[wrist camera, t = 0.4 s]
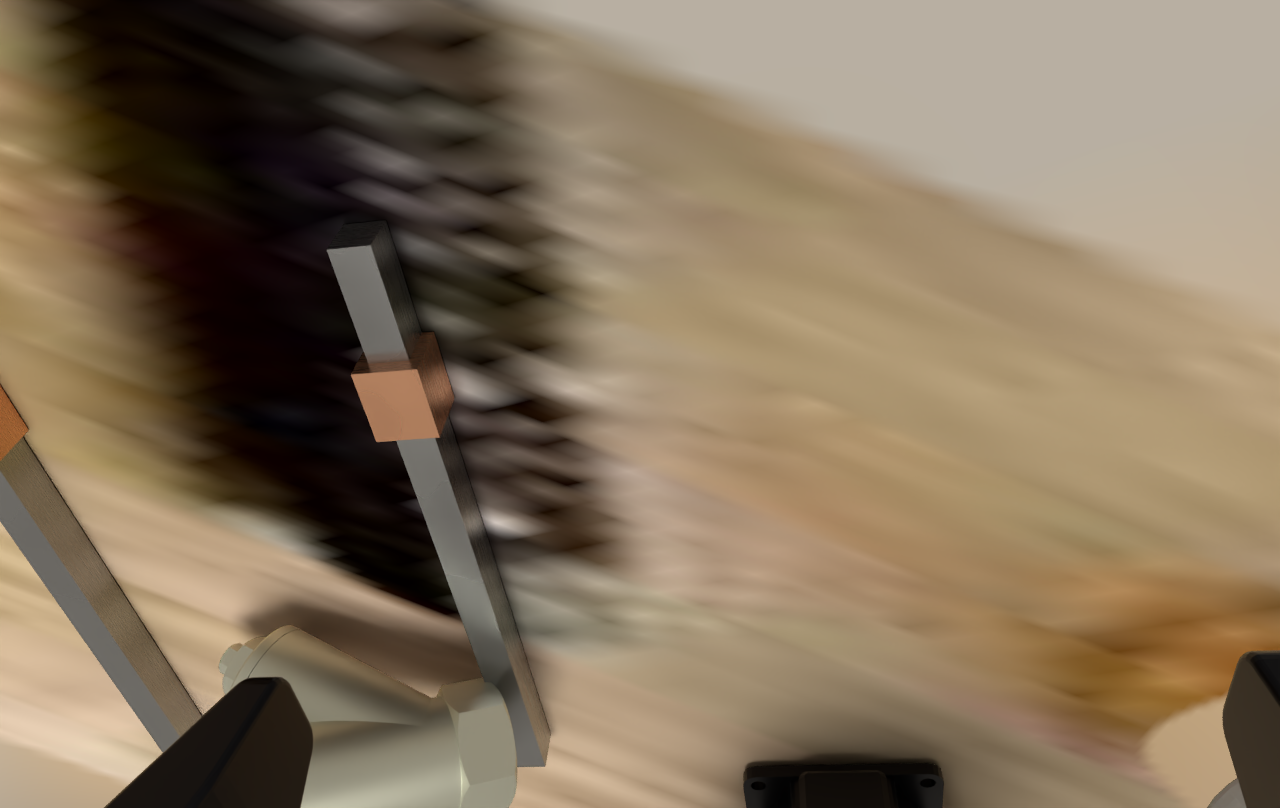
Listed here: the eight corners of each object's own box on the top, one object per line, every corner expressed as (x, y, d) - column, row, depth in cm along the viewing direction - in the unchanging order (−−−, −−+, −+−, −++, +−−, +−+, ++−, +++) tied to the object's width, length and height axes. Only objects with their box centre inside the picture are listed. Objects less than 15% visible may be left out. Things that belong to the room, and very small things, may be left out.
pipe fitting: (200, 693, 31) (216, 902, 27) (195, 611, 29) (211, 825, 24) (452, 649, 35) (506, 828, 30) (465, 573, 32) (524, 754, 28)
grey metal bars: (559, 734, 34) (552, 777, 32) (184, 743, 35) (164, 783, 34) (398, 218, 22) (378, 253, 21) (-133, 273, 24) (-181, 307, 23)
